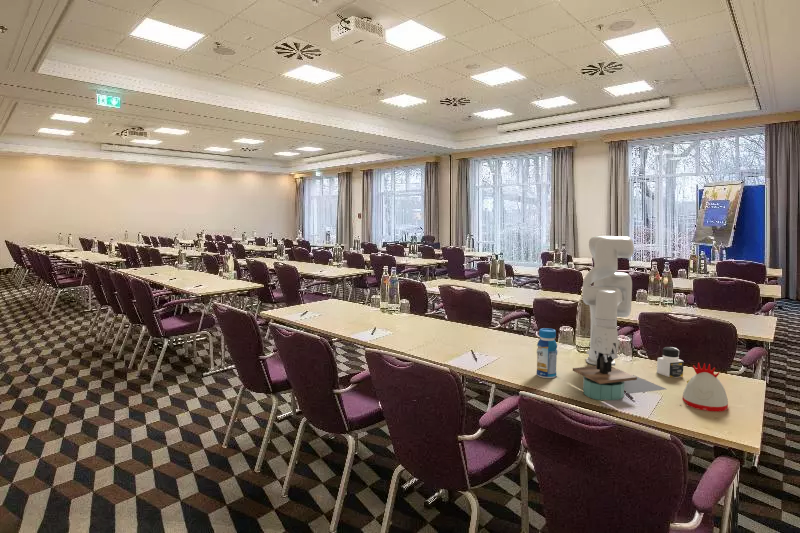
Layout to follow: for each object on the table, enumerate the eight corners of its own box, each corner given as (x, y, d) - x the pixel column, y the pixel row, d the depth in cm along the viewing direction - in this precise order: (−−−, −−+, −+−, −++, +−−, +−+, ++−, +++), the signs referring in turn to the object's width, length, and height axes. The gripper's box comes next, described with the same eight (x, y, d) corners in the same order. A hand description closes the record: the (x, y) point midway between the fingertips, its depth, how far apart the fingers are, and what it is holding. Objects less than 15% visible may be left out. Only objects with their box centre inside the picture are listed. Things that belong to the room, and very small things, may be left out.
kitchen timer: (686, 394, 186) (688, 356, 185) (729, 403, 177) (732, 362, 176) (679, 405, 175) (681, 364, 174) (725, 414, 167) (727, 371, 165)
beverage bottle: (557, 379, 204) (559, 332, 202) (536, 378, 205) (538, 331, 203) (555, 373, 212) (556, 328, 210) (535, 372, 213) (536, 327, 212)
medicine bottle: (669, 378, 204) (670, 350, 203) (656, 373, 211) (657, 346, 210) (683, 377, 206) (684, 349, 205) (669, 372, 213) (671, 345, 212)
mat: (597, 380, 203) (597, 378, 202) (633, 376, 207) (633, 375, 207) (628, 395, 185) (628, 393, 185) (667, 390, 190) (667, 389, 190)
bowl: (575, 390, 191) (576, 375, 190) (606, 386, 194) (606, 372, 194) (599, 403, 177) (600, 387, 177) (631, 399, 181) (632, 383, 180)
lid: (572, 370, 191) (573, 353, 190) (607, 367, 195) (608, 350, 194) (599, 383, 175) (600, 364, 175) (636, 379, 180) (637, 361, 179)
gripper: (583, 319, 190) (581, 365, 192) (612, 328, 174) (610, 378, 176) (599, 318, 192) (598, 363, 194) (629, 326, 176) (627, 376, 178)
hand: (603, 370), depth 185 cm, fingers closed on lid, 3 cm apart
